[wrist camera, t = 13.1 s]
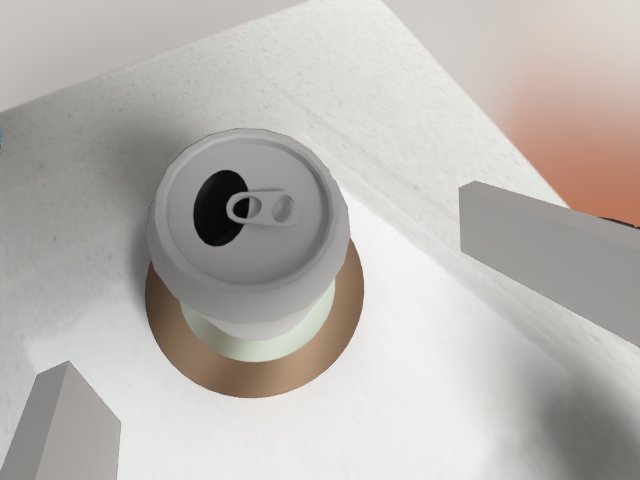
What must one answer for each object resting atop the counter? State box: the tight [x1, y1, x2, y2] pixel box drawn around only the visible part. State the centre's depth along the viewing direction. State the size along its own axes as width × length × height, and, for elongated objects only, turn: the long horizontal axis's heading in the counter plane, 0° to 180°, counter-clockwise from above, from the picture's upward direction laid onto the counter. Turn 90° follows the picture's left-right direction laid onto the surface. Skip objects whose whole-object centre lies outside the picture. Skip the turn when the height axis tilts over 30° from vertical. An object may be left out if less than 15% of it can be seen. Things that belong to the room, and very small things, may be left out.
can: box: [146, 128, 350, 341], centre depth 17 cm, size 8×8×12 cm
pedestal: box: [145, 238, 364, 398], centre depth 24 cm, size 14×14×3 cm
